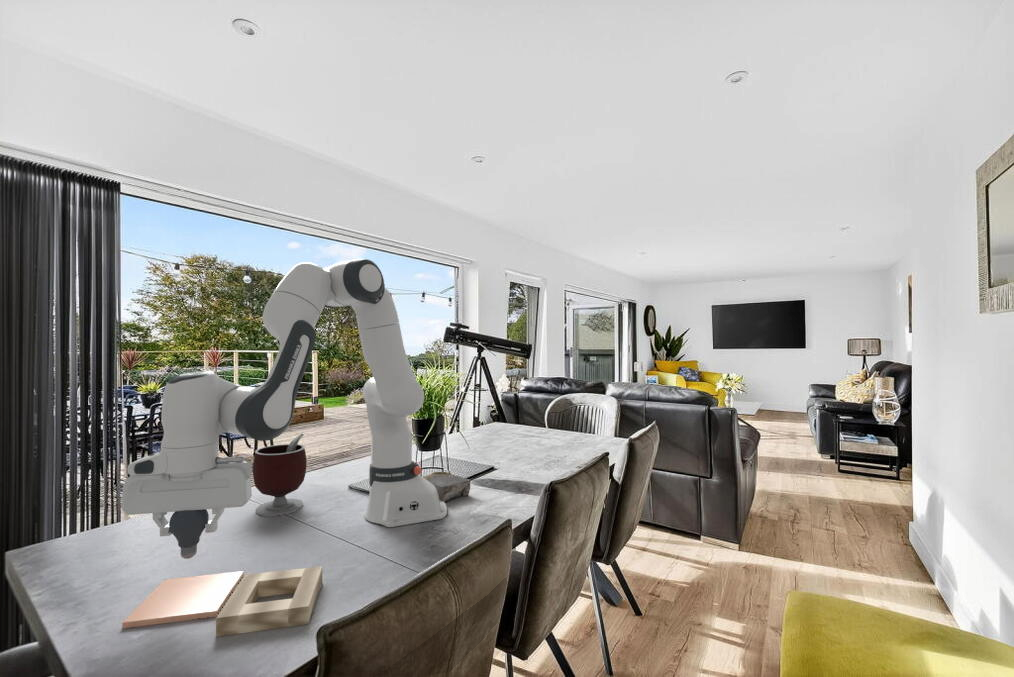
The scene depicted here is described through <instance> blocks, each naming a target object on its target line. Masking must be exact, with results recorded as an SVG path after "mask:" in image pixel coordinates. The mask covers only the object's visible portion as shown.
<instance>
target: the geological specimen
mask: <svg viewBox="0 0 1014 677" xmlns="http://www.w3.org/2000/svg"><path fill="white" fill-rule="evenodd" d="M422 477H423V478H425V479H426V480H427V481H429V482H430V483H432V484H433V485H434V486H435V487H436V489H437V492H438V495H439V500H441V501H442V502H446V501H449V500H451V499H453V498H454V497H456V498H457V497H460V496H463V497H467V496H466V495H468V496H470V491H471V483H472V480H471V479H469V478H466V477H464V476H459V475H455V474H452V473H451V472H447V471H434V472H432V473H431V474H428V475H423V476H422Z"/></svg>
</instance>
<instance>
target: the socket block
mask: <svg viewBox="0 0 1014 677" xmlns="http://www.w3.org/2000/svg"><path fill="white" fill-rule="evenodd" d="M322 583H323V565H321V566H314V567H313V566H311V567H305V568H293V569H286V570H276V571H268V572H267V571H266V572H257V573H249V574H244V576H243V578H242V579H241V581H240V582H239V584H238V585H237V587H236V588H235V590H234V591H233V593H232V594H231V596H230V597H229V599H228V600H227V602H226V603H225V605H224V606H223V608H222V609H221V611H220V612H219V614H218V615H217V617H215V637H216V638H217V637H223V636H230V635H231V636H232V635H238V634H246V633H252V632H261V631H268V630H274V629H275V630H277V629H283V628H288V627H289V628H290V627H296V626H305V625H310V622H311V618H312V615H311V614H313V612H312V611H314V608H315V605H316V601H317V598H318V597H319V596H318V595H319V592H320V590H321V586H322ZM288 594H294V595H293V597H292V598H285V599H277V600H269V601H261V602H260V601H259V602H257V600H258V598H264V597H273V596H280V595H281V596H282V595H288ZM310 617H311V618H310Z"/></svg>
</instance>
